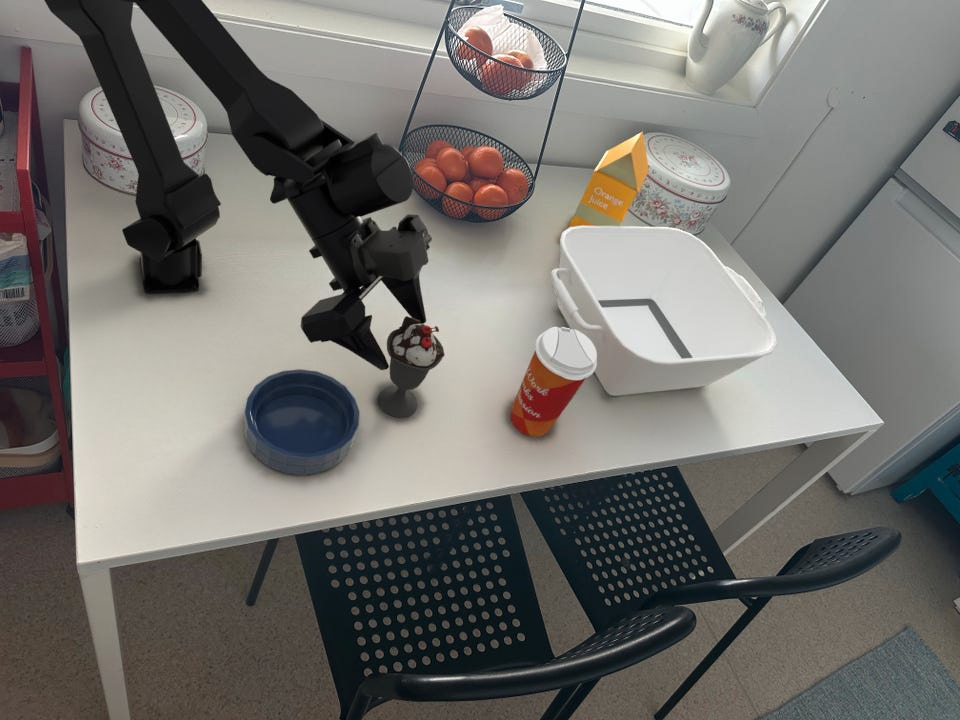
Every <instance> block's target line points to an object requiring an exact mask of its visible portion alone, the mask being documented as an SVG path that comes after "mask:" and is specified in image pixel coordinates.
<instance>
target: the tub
mask: <svg viewBox="0 0 960 720" xmlns="http://www.w3.org/2000/svg"><path fill="white" fill-rule="evenodd" d="M550 280H551V286H552V289H553V292H554V294H555V296H556V298H557V309H558V311H559V313H560V316H561V317H562V318H563V320H564V322H565V324H566V325H567V328H570V330H573V329H575V330H578V331H579V332H581V333H583V334H584V335H585V336H587V337H588V338H589V339H590V340H591V342H592V343H593V344H594V346H595V349H596V352H597V359H596V361H597V365H596V369H595V371H594V372H593V375H594V376H595V378H596V380H597V381H598V383H599V385H600V387H601V388H602V390H603V392H604V394H605V395H607V396H608V397H612V398H617V397H625V396H635V395H644V394H654V393H663V392H672V391H681V390H691V389H701V388H705V387H707V386H710V385H712V384H713V383H716V382H717V381H719V380H721V379H722V378H723V379H724V378H725V377H727V376H729V375H730V374H733V373H734V372H736V371H739V370H740V369H742V368H744V367H746V366H748V365H750V364H751V363H754V362H755V361H758V360H759V359H761V358H763V357H765V356H769V355H772V354H773V352H774V350H775V349H776V348H777V346H778V343H777V336H776V333H775V331H774V329H773V327H772V326H771V323H770V322H769V321H768V320H767V315H768V314H767V311H766V309H765V307H764V302H763V300H762V299H761V297H760V296H759V295H758V293H757V291H755V289H754V288H753V286H752V285H751V284H750V283H749V282H748V281H747V279H745V277H744V276H743V275H739V274H738V273H737V272H735V270H733V269H732V268H730V267H728V266H725V265H724V263H723V262H722V261H721V260H720V258H719V257H718V256H717V255H716V254H715V252H714V251H713V250H712V249H711V248H710V247H709V246H708V245H707V244H706V243H705V242H704V241H703V240H702V239H700V238H699V237H697V236H695V235H693V234H692V233H690V232H688V231H685V230H682V229H679V228H675V227H669V226H638V225H637V226H635V225H634V226H632V225H620V226H575V227H570V228H568V227H567V229H565V230H564V231H562V232H561V235H560V239H559V267H557V268H554V269H552V271H551V272H550Z"/></svg>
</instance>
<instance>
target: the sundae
mask: <svg viewBox="0 0 960 720" xmlns="http://www.w3.org/2000/svg"><path fill="white" fill-rule="evenodd" d="M434 329H435V330H434ZM435 332H436V333H439V332H440V329H439V327H438V326H436V325H435V326H434V327H431V326H430V325H426V324H425V323H424V324H420V321H419V320H416V319H414V318H412V317H411V316H407V315H406V316H404V318H403V320H402V323H401V326H399V327H398V328H396V329H393V330H392V331H391V332H390V333H389V334H388V337H387V339H386V351H387V354H388V356H389V357H390V360H389V378H390V380H391V382H392V383H393V385H391V386H387V387H385V388H384V389H382V390H381V391H380V392H379V394H378V397H377V401H378V405H379V407H380V408H381V410H382V411H383V412H384V413H386V414H387V415H389V416H392V417H394V418H408V417H410V416H412V415H413V414H414V413H415V412H416V411H417V409H418V407H419V406H418V405H419V403H418V399H417V396H416V395H415V394H414V392H412V391H411V390H414V389H417V388H419V387H420V386H421V384H422V383H423V382H424V380H425V379H426V377H427V375H428V373H429V372H430V371H431V370H432V369H434V368H436V367H437V366H438V365H439V364H440V362H442V360H443V358H444V357H445V354H446V353H445V351H444V346H443V345H442V343H441V341H439V339H438V338H437V336H435V334H434V333H435Z"/></svg>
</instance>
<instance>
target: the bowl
mask: <svg viewBox="0 0 960 720" xmlns="http://www.w3.org/2000/svg"><path fill="white" fill-rule="evenodd" d="M243 416H244V417H243V429H242V430H243V435H244V438H245V443H246V445H247V447H248V448H249V450H250V451H251V452H252V454H253V455H254V457H255V458H257V459H258V460H259V461H261V462H262V463H263V464H264V465H266V466H267V467H269V468H271V469H274V470H277V471H279V472H282V473H284V474H292V475H293V474H294V475H302V476H303V475H304V476H305V475H311V474H318V473H322V472H324V471H327V470H329V469H331V468H333V467H334V466H337V465H338V464H339V463H341V462H342V461H343V460H344V458H346V457H347V456H348V455H349V453H350V451H351V449H352V447H353V445H354V443H355V439H356V436H357V433H358V428H359V425H360V409H359V406H358V403H357V400H356V398H355V396H354V395H353V394H352V393H351V391H350V390H349V389H348V388H347V386H346V385H344V384H343V383H341V382H340V381H339V380H337V379H336V378H334V377H333V376H331V375H328V374H325V373H322V372H321V371H317V370H310V369H301V368H298V369H289V370H282V371H279V372H277V373H274V374H270V375H269V376H266V377H265V378H264V379H262V380H261V381H259V382H258V383H257V384H256V385H255V386H254V388H253V389H252V391H251V392H250V394H249V395H248V396H247V398H246V403H245V409H244V415H243Z"/></svg>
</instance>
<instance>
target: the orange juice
mask: <svg viewBox="0 0 960 720" xmlns="http://www.w3.org/2000/svg"><path fill="white" fill-rule="evenodd" d="M648 161H649V160H648V154H647V149H646V144H645V137H644V130H642V131H641V132H639V133H637V134H635V135H634V136H632V137H630V138H628V139H626V140H625V141H623V142H621V143H619V144H617V145H616V146H614V147H612V148H609V149H608V150H606V152H605V153H604V154H603V157H602V158H601V160H600V161H599V163H598V164H597V166H596V167H595V168H594V171H593V173H592V176H591V177H590V179H589V181H588V184H587V186H586V189H585V190H584V193H583V195H582V197H581V199H580V201H579V203H578V205H577V207H576V209H575V211H574V214H573V216H572V218H571V221H570V223H569V225H568V227H567V229H568V228H570V227H575V226H622V223H623V221H624V220H625V219H624V218H625V217H626V216H627V213H628V211H629V210H630V208H631V206H632V203H633V202H634V200H635V198H636V197H637V194H638V193H639V192H640V190H641V188H642V187H643V185H644V183H645V181H646V179H647V176H648V175H649V172H650V169H649V163H648Z"/></svg>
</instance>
